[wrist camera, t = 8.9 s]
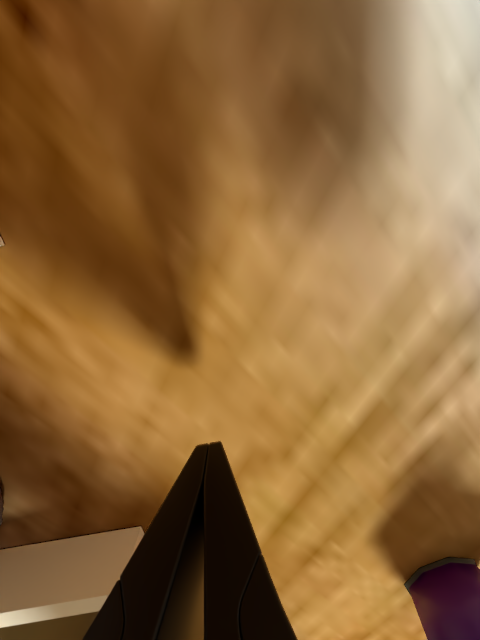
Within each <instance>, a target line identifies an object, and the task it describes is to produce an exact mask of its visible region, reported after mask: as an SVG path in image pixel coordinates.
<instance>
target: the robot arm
mask: <svg viewBox="0 0 480 640" xmlns="http://www.w3.org/2000/svg"><path fill="white" fill-rule="evenodd" d="M82 640H298V639H297V637H296V635H295V633H294V631H293V628H292V626H291V624H290V622H289V619H288V617H287V615H286V613H285V611H284V608H283V606H282V604H281V601H280V599H279V596H278V594H277V591H276V589H275V586H274V584H273V581H272V579H271V576H270V573H269V571H268V568H267V565H266V562H265V560H264V557H263V555H262V552H261V549H260V546H259V544H258V541H257V538H256V535H255V533H254V530H253V527H252V524H251V522H250V519H249V516H248V514H247V511H246V508H245V505H244V503H243V500H242V497H241V494H240V492H239V489H238V486H237V483H236V481H235V478H234V475H233V472H232V470H231V467H230V464H229V461H228V459H227V456H226V453H225V450H224V448H223V445H222V443H221V442H220V441H218V442H212V443H210V444H201V445H197V446H196V447H195V449H194V451H193V452H192V454H191V456H190V457H189V459H188V461H187V463H186V464H185V466H184V468H183V469H182V471H181V473H180V475H179V476H178V478H177V480H176V481H175V483H174V485H173V486H172V488H171V490H170V492H169V493H168V495H167V497H166V498H165V500H164V502H163V504H162V505H161V507H160V509H159V510H158V512H157V514H156V516H155V517H154V519H153V521H152V522H151V524H150V526H149V527H148V529H147V531H146V533H145V534H144V536H143V538H142V539H141V541H140V543H139V545H138V546H137V548H136V550H135V551H134V553H133V555H132V557H131V558H130V560H129V562H128V563H127V565H126V567H125V568H124V570H123V572H122V574H121V575H120V580H118V581H117V582H116V584H115V585H114V587H113V589H112V590H111V592H110V594H109V596H108V597H107V599H106V601H105V602H104V604H103V606H102V607H101V609H100V611H99V612H98V614H97V616H96V617H95V619H94V621H93V622H92V624H91V625H90V627H89V629H88V630H87V632H86V634H85V635H84V637H83V639H82Z"/></svg>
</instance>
